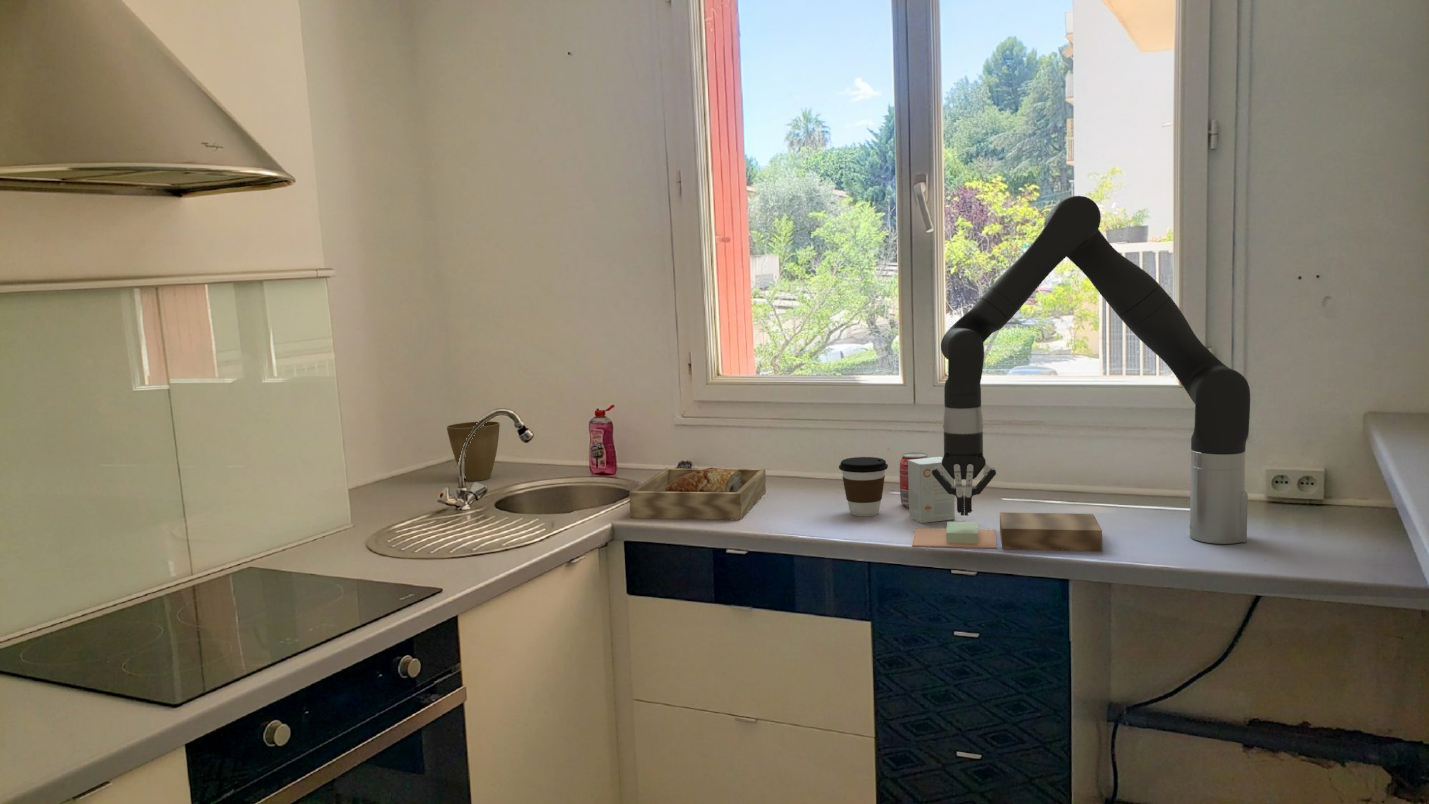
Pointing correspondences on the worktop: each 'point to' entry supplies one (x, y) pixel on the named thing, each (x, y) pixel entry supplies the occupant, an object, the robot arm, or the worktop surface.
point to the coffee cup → (863, 484)
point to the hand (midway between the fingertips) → (964, 514)
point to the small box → (928, 492)
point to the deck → (1050, 531)
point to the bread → (707, 481)
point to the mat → (939, 540)
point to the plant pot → (475, 448)
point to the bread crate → (695, 498)
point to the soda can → (904, 474)
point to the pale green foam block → (962, 532)
